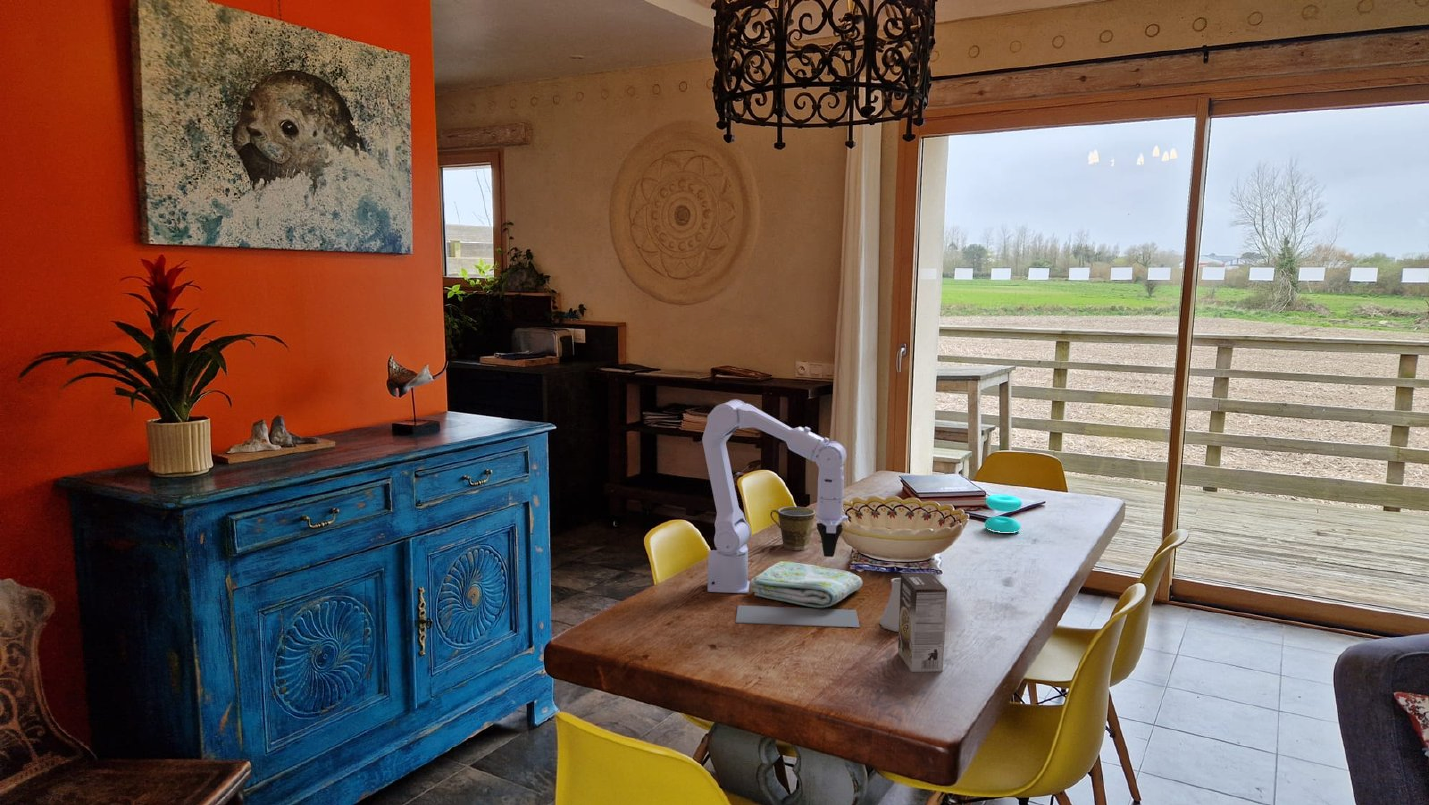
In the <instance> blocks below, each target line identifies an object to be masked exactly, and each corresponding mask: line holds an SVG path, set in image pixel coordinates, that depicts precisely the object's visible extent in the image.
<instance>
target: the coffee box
mask: <svg viewBox="0 0 1429 805" xmlns="http://www.w3.org/2000/svg"><path fill="white" fill-rule="evenodd" d="M900 578H901V583H900V612H899V631H898V641H897V642H898V644H897V648H898V649H897V653H898V655H899V656H900V658H901V659H902V660H903V662H904V663H905V665H906V667H907V668H908V669H909V671H910V672H912V673H919V672H920V673H921V672H924V673H926V672H927V673H928V672H929V673H930V672H943V670H944V651H945V650H944V649H945V637H946V635H945V634H946V620H947V619H946V617H947V599H948V589H947V588H946V586H945V585H944V584H942V583H941V582H940V581H939V580H938V579H937V578H936V576H935V575H934V574H933V573H916V572H915V573H914V572H911V573H900Z"/></svg>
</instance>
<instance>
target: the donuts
mask: <svg viewBox="0 0 1429 805" xmlns="http://www.w3.org/2000/svg"><path fill="white" fill-rule="evenodd" d="M1022 503H1023V502H1022V500H1021V499H1020V498H1019V497H1017V496H1014V495H1010V494H992V495H991V494H990V495H988V497H986V500H985V504H986V505H987V506H988V508H990V509H991V510H994V511H998V512H1004V513H1005V512H1007V513H1009V512H1015V511H1018V510H1019V509H1020V508H1021V507H1022V506H1023V504H1022ZM985 527H987V528H988V529H991V530H994V531H1000V532H1014V531H1018V530H1019V529H1020V530H1021V524H1020V523H1019V521H1018V520H1016V519H1014V518H1012V517H1008V516H992V517H989V518H987V519H986V520H985V522H984V528H985ZM1020 530H1019V531H1020ZM1019 531H1018V532H1019Z"/></svg>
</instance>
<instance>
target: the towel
mask: <svg viewBox="0 0 1429 805" xmlns="http://www.w3.org/2000/svg"><path fill="white" fill-rule="evenodd" d="M749 581H750V584H749V586H750V589H751V591H752V592H753V593H754V596H757V597H760V598H765V599H770V600H774V601H778V602H779V601H780V602H785V603H790V604H793V605H794V604H795V605H800V606H804V607H808V608H819V609H826V608H828V607H829V608H830V607H831V606H834V605H836V604H838V603H839V602H841V601H843V599H845V598H847V596H849V595H850V594H853V593H855V592H856V591H857V590H859V589H860V588H861V587H862V586H863V579H862V578H861V577H860V576H858V574H857V575H856V574H855V573H853V572H851V571H847V570H843V569H838V568H830V567H829V568H828V567H823V566H819V565H814V564H807V563H800V562H793V561H784V560H783V561H782V560H781V561H778V562H777V563H774V564H772V565H771V566H769V567H768V568H766V569H765V570H764V571H762V572H761V573H759V574H758V575H756V576H754V577H753V578H751V580H749Z"/></svg>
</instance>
